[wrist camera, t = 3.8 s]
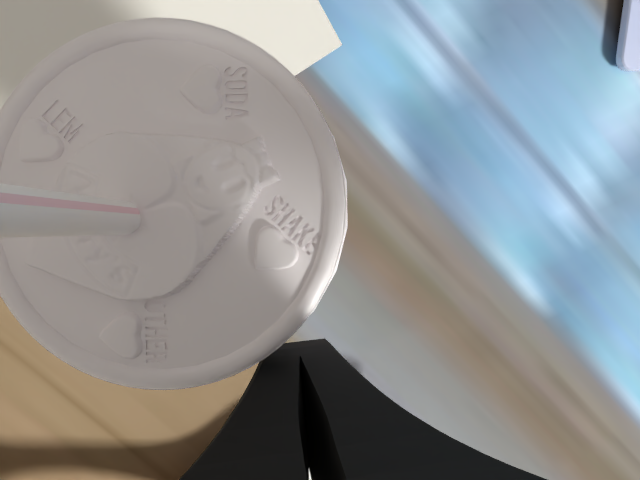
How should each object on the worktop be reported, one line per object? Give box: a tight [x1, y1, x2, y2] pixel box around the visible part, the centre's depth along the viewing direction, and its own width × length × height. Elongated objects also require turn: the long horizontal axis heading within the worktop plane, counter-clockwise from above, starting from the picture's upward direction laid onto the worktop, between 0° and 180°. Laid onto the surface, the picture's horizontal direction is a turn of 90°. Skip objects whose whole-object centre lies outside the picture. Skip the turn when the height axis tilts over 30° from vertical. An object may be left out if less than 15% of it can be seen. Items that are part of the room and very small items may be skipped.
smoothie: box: [0, 17, 347, 390], centre depth 11 cm, size 6×6×14 cm
